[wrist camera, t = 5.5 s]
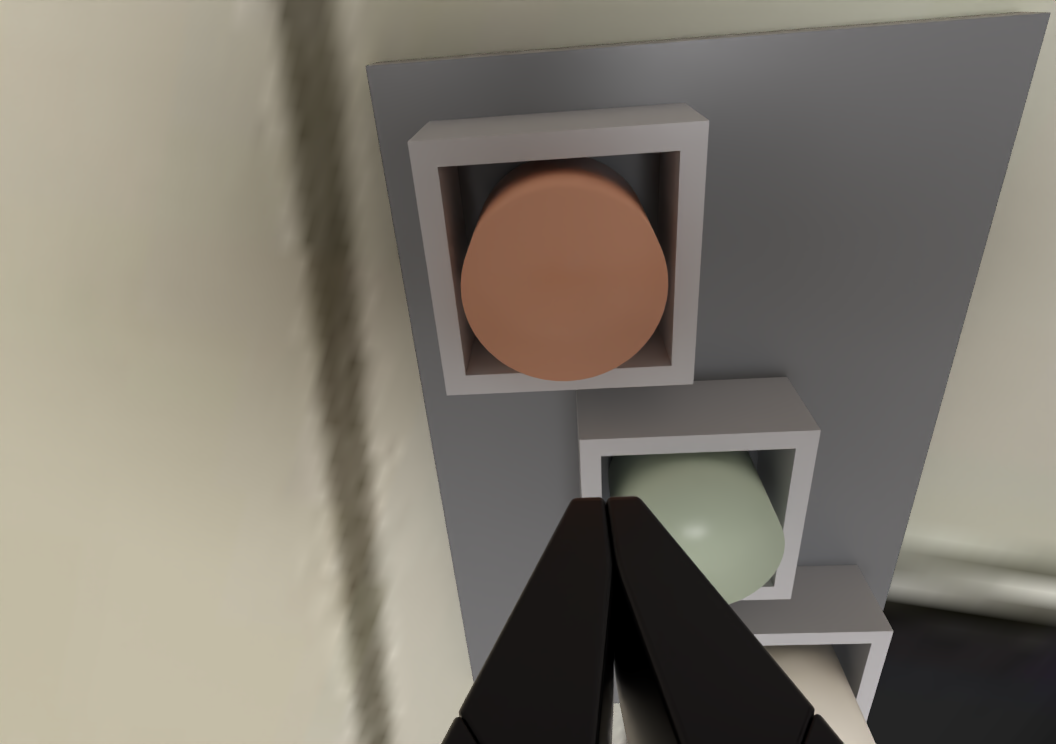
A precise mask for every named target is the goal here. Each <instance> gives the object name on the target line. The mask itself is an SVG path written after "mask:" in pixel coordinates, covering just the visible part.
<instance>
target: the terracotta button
mask: <svg viewBox="0 0 1056 744" xmlns="http://www.w3.org/2000/svg"><path fill="white" fill-rule="evenodd" d="M667 294H668V271H667V266H666V260H665V257H664V254H663V251H662V248H661V246H660V244H659V242H658V239H657V237H656V235H655V233H654V231H653V229H652V226H651V224H650V222H649V220H648V218H647V215H646V213H645V211H644V209H643V207H642V205H641V203H640V201H639V199H638V197H637V195H636V193H635V192H634V190H633V189H632V187H631V186H630V185H629V184H628V183H627V182H626V180H625V179H624V178H623V177H622V176H620V175H619V174H618V173H617V172H616V171H614V170H613V169H611V168H610V167H608V166H606V165H605V164H603V163H601V162H598V161H596V160H594V159H591V158H587V157H580V158H565V159H550V160H535V161H528V162H526V163H524V164H522V165H520V166H518V167H517V168H515V169H513V170H512V171H511V172H509V173H508V174H507V175H506V176H504V177H503V178H502V179H501V180H500V181H499V183H498V184H497V185H496V186H495V187H494V188H493V190H492V191H491V193H490V194H489V195H488V197H487V199H486V201H485V203H484V205H483V207H482V210H481V213H480V215H479V218H478V221H477V224H476V227H475V230H474V233H473V236H472V239H471V242H470V245H469V248H468V251H467V254H466V257H465V259H464V264H463V268H462V274H461V298H462V303H463V308H464V312H465V314H466V317H467V320H468V322H469V324H470V326H471V328H472V330H473V332H474V334H475V335H476V337H477V338H478V340H479V341H480V342H481V344H482V345H483V346H484V347H485V348H486V349H487V350H488V351H489V352H490V353H491V354H492V355H493V356H494V357H495V358H497V359H498V360H499V361H501V362H502V363H504V364H505V365H507V366H508V367H510V368H512V369H514V370H516V371H518V372H520V373H523V374H525V375H528V376H531V377H535V378H539V379H543V380H551V381H575V380H582V379H587V378H591V377H595V376H598V375H601V374H604V373H606V372H608V371H610V370H612V369H614V368H617V367H618V366H620V365H621V364H623V363H624V362H626V361H627V360H629V359H630V358H631V357H632V356H634V355H635V354H636V353H637V352H638V351H639V350H640V349H641V348H642V347H643V346H644V345H645V344H646V343H647V341H648V340H649V339H650V337H651V336H652V335H653V333H654V331H655V329H656V328H657V326H658V324H659V322H660V320H661V317H662V315H663V312H664V309H665V305H666V301H667Z"/></svg>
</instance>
